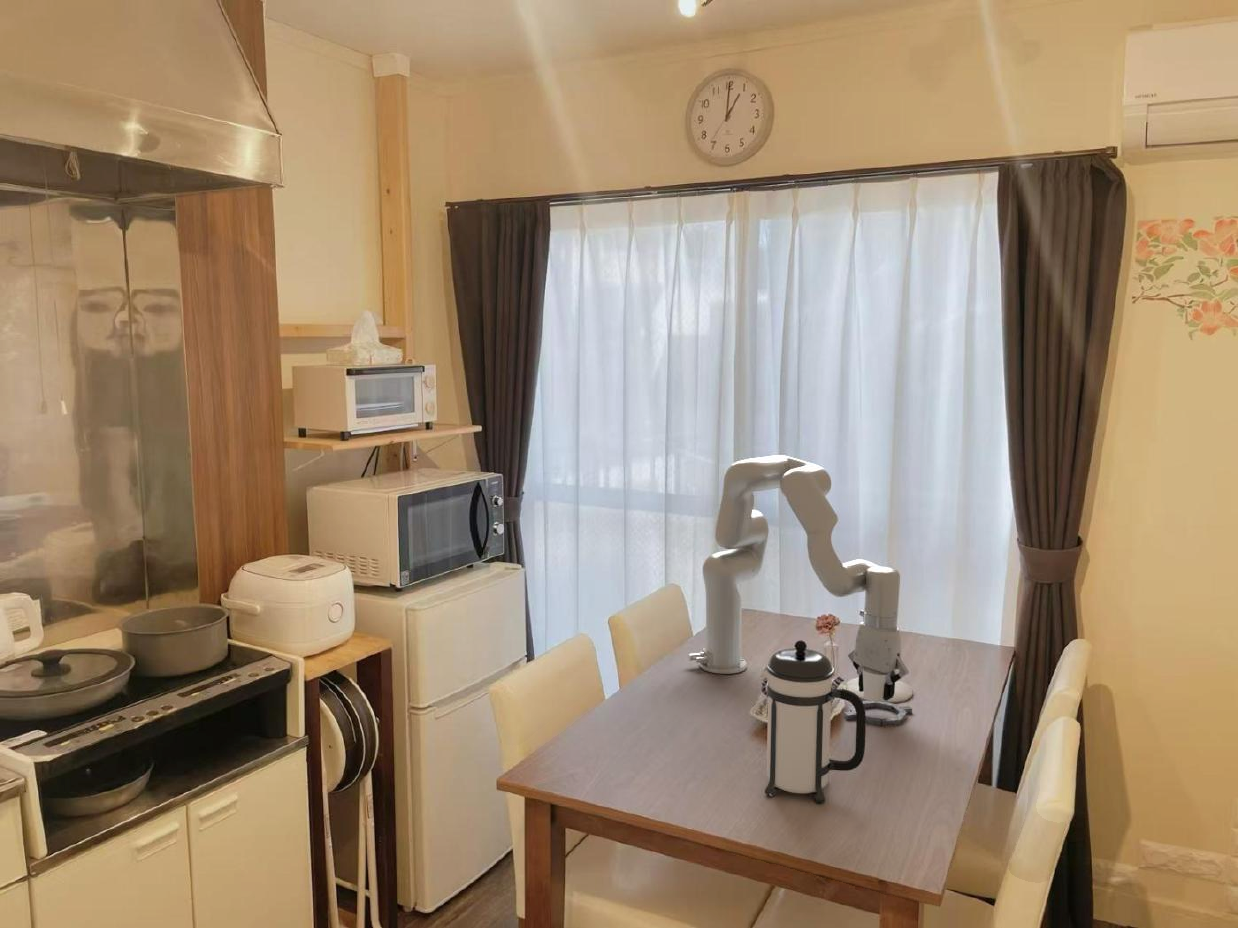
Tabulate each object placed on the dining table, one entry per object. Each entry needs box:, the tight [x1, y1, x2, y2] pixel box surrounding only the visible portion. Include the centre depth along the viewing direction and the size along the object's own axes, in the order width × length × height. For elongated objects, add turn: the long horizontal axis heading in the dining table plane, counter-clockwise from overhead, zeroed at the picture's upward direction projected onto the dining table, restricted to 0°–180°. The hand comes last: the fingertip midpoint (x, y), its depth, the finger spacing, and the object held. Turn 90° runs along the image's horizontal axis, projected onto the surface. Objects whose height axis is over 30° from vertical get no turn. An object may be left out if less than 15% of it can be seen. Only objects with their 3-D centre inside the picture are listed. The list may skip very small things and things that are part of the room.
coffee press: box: [759, 640, 867, 805], centre depth 182 cm, size 17×16×30 cm
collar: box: [843, 700, 913, 727], centre depth 219 cm, size 17×12×1 cm
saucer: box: [846, 676, 913, 704], centre depth 234 cm, size 16×16×1 cm
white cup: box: [863, 667, 892, 702], centre depth 218 cm, size 7×7×7 cm
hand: (875, 693), depth 219 cm, fingers closed on white cup, 5 cm apart
